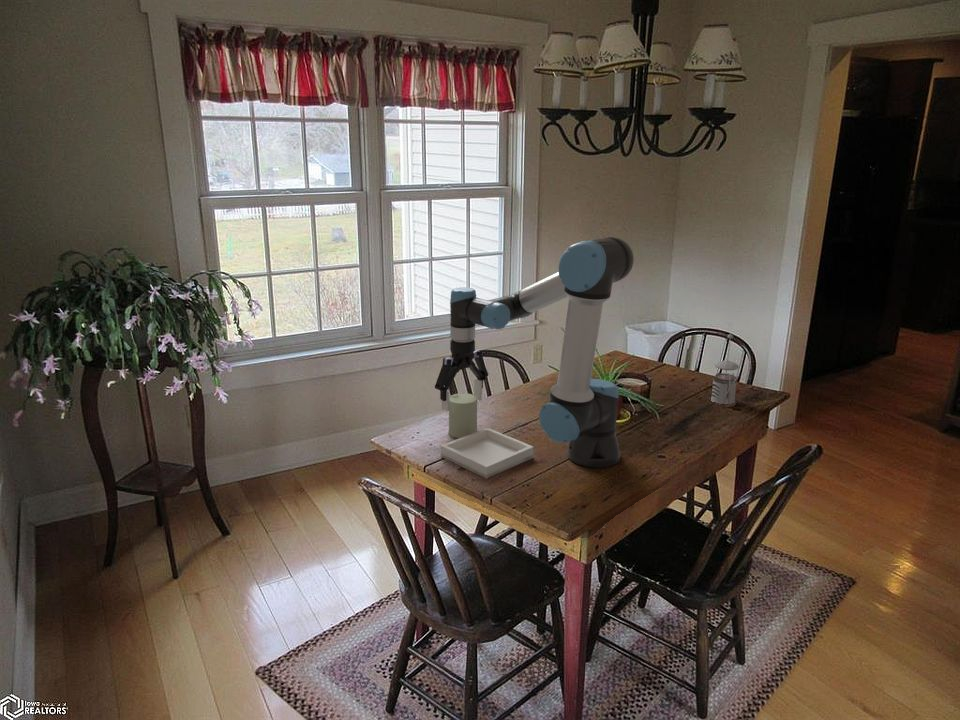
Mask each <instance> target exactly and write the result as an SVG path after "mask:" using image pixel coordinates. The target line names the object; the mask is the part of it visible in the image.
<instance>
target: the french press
mask: <svg viewBox="0 0 960 720" xmlns="http://www.w3.org/2000/svg"><path fill="white" fill-rule="evenodd" d="M726 337H727V338H728V339H729V342H728V350H727V351H728V353H727V358H726V360H720V361H717V362H716V363H714V367H715V368H716V369H719V370H722V371H723V370H725V372H724V373H716V374H715V375H714V377H715V378H713V381H712V389H711V391H712V392H711V395H710V396H711V397H710V398H711V401H712V402H716V403H719V404H732V403H735V402H736V400H735V399H736V392H737V391H736V388H737V383H738V381H737V380H736V379H737V377H736V376H735V373H732V374H731V373H727V371H737V370H738V369H739V368H740V366H739V364H737V363H736V362H734V361H731V360H729V356H730V355H729V353H730V346H731V339H733V338H734V335H733V334H728V335H727V336H726Z"/></svg>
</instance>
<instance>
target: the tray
mask: <svg viewBox="0 0 960 720" xmlns="http://www.w3.org/2000/svg"><path fill="white" fill-rule="evenodd" d="M477 431H478V432H475V433H472V434H470V435H467V436H464V437H462V438H456V439H454V440H452V441H449V442H446V443H443V444H441V445H440V457H441V456H442V458H443V457H444V458H443V459H445V458H446V459H445V460H447V459H448V460H447V461H449V460H450V461H449V462H451V461H452V462H451V463H453V462H454V464H455V465H457V464H458V466H459V465H460V466H459V467H461V466H462V467H461V468H462V469H463V468H464V469H466V470H468V471H470V472H471V473H473V474H476V475H477V476H480V477H482V478H483V479H486V480H487V479H489V478H491V477H494V476H495V475H497V474H500V473H502V472H504V471H506V470H509V469H512V468H513V467H516V466H519V465H520V464H523V463H525V462H527V461H529V460H532V459H534V446H532V445H530V444H528V443H526V442H523V441H521V440H518V439H516V438H513V437H511V436H509V435H507V434H504V433H501V432H499V431H497V430H494V429H492V428H490V427H486V428H483V429H480V430H477Z"/></svg>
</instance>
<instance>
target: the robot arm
mask: <svg viewBox="0 0 960 720" xmlns="http://www.w3.org/2000/svg"><path fill="white" fill-rule="evenodd" d="M634 256H635V255H634V252H633V250H632V248H631V246H630V245H629V244H628V242H626V241H625V240H624V239H622V238H619V237H615V236H608V237H602V238H595V239H591V240H587V239H585V240H582V241H579V242H577V243H574V244H571V245H570V246H568V248H566V249H565V251H564V252H563V254H562V255H561V256H560V259H559V263H558V271H557V272H555V273H552V274H551V275H550V276H549V275H548V276H547V277H545V278H543V279H541V280H539V281H537V282H535V283H533V284H531V285H528V286H526V287H525V288H523V289H521V290H518V291H516V292H514V293H511V294H509V295H505V296H502V297H501V296H500V297H495V298H493V299H483V298H479V297H477V291H476V290H475V289H474V288H472V287H465V286H462V287H461V286H459V287H456V288H455V287H454V288H453V289H452V290H451V291H450V300H449V305H450V306H449V308H450V310H449V311H450V315H449V317H450V324H449V325H450V329H449V330H450V338H451V339H450V340H449V344H450V345H449V347H450V348H449V349H450V350H449V351H450V352H451V353H450V354H451V356H450V357H443V358H442V366H441V369H440V371H439V374H438V377H437V379H436V381H435V384H434V389H436V390H438V391H439V394H440V395H439V397H440V398H439V399H440V401H441V409H442V410H444V411H446V412H449V397H450V396H451V395H450V392H451V391H450V390H449V388H450V386H451V384H452V383H453V381H454V378H455V377H456V375H457V374H458V373H459V372H460V371H461V370H464V369H469V370H470V371H471V373H472V374H473V375H474V376H475V378H474V380H473V381H474V383H473V386H474V387H473V395H475V396H476V397H477V398H478V399H477V401H482V400H483V389H484V381H486V380H487V377H488V376H489V372H488V369H487V367H486V365H485V362H484V360H483V357H482V351H481V350H479V349H476V340H475V338H476V325H478V326H481V327H485V328H488V329H494V330H502V329H504V328H505V327H506V326H507V325H508V324H509V322H511V321H515V320H518V319H524V318H527V317H529V316H531V315H533V313H535V312H536V311H539V310H541V309H544V308H546V307H548V306H551V305H553V304H555V303H557V302H559V301H563V300H564V299H567V298H568V303H567V305H568V306H567V310H566V311H567V312H566V319H565V326H564V333H563V340H562V341H563V342H562V348H561V356H560V361H559V370H558V376H557V383H555V384H553V385H552V386H551V388H550V393H549V399H548V400H549V401H548V402H545V403H544V404H543V405H542V406H541V407H540V409H539V414H538V420H539V424H540V427H541V429H542V430H543V431H544V433H545V434H546V435H547V436H548V438H550V439H551V440H552V441H555V442H557V443H562V444H563V443H568V446H567V457H568V459H569V460H571V462H573V463H575V464H577V465H580V466H583V467H588V468H600V469H601V468H609V467H611V466H615V465H616V464H618V463H619V462H620V461H621V449H620V445H619V442H618V438H617V421H618V420H617V417H618V406H619V398H620V396H619V387H618V386H617V384H615V383H613V382H611V381H609V380H605V379H599V378H592V374H593V369H594V368H593V367H594V362H595V356H596V350H597V349H596V348H597V342H598V336H599V330H600V329H599V328H600V324H601V319H602V314H603V313H602V311H603V305H604V303H605V302H606V301H608V300H609V299H611V295H612V288H613V283H617V282H619V281H622V280H623V279H624V278H625V279H626V277H627V276H628V275H629V274H630V272H631V270H632V269H633V266H634V263H635V261H634V260H635V258H634ZM473 360H474V361H475V362H474V361H473Z"/></svg>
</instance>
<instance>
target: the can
mask: <svg viewBox="0 0 960 720" xmlns="http://www.w3.org/2000/svg"><path fill="white" fill-rule="evenodd" d="M478 431H479V430H478V398H477V397H476V396H475V395H474V394H472V393H465V392H464V393H463V392H459V393H454V394H452V395H450V396H449V411H448V431H447V433H448V434H449V435H450V436H451V437H454V438H456V439H459V438H462V437H464V436H467V435H470V434H472V433H475V432H478Z"/></svg>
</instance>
